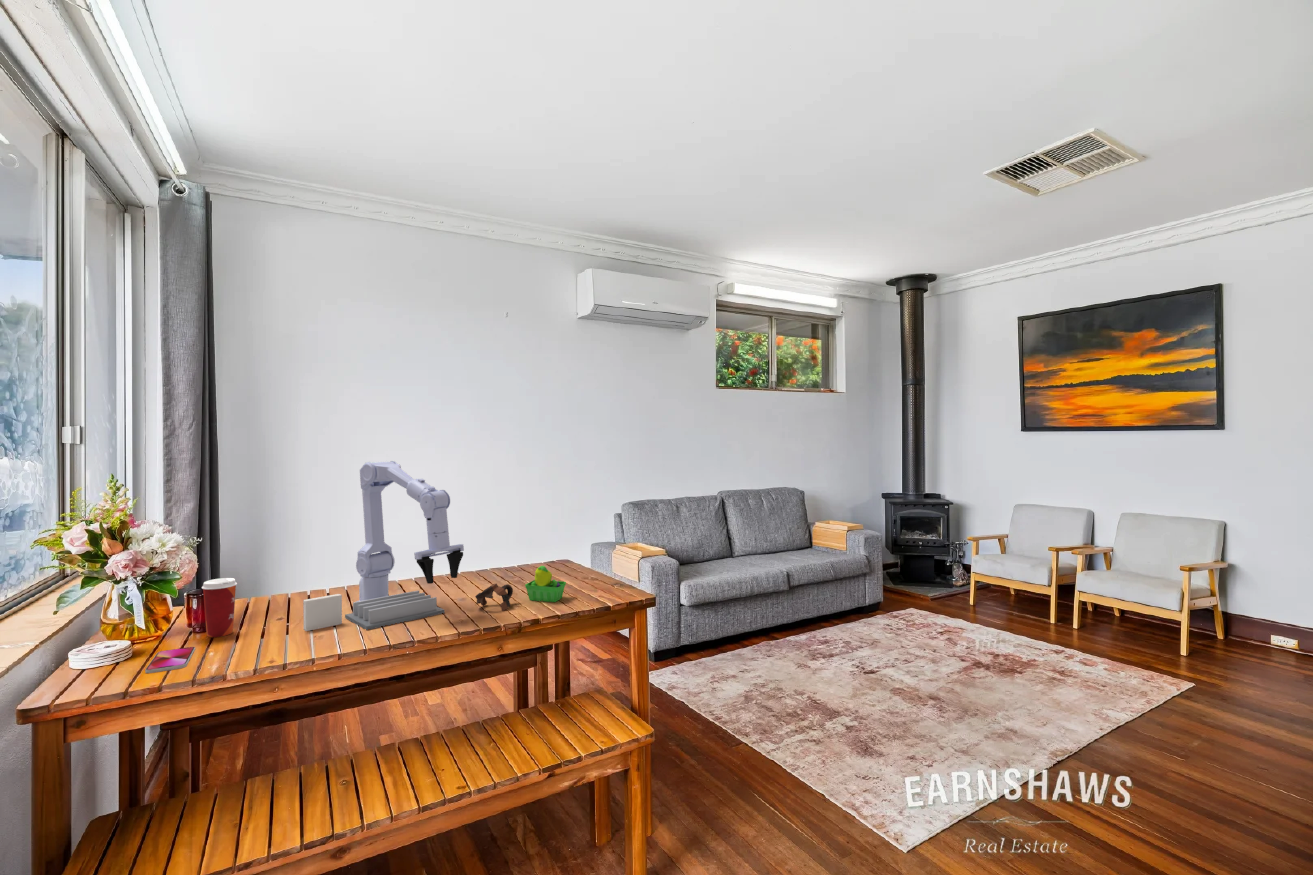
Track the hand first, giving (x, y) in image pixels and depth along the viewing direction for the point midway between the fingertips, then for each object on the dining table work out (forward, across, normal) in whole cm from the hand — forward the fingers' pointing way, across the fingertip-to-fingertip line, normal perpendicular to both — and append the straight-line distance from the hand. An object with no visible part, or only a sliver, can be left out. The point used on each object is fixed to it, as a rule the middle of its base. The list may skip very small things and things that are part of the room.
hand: (442, 580), depth 177 cm
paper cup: (+6, -45, +34) cm, 57 cm away
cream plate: (+8, -25, +19) cm, 33 cm away
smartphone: (+8, -58, +21) cm, 62 cm away
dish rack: (+9, -8, +13) cm, 18 cm away
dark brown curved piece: (+12, +16, -2) cm, 20 cm away
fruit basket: (+12, +30, -8) cm, 34 cm away
